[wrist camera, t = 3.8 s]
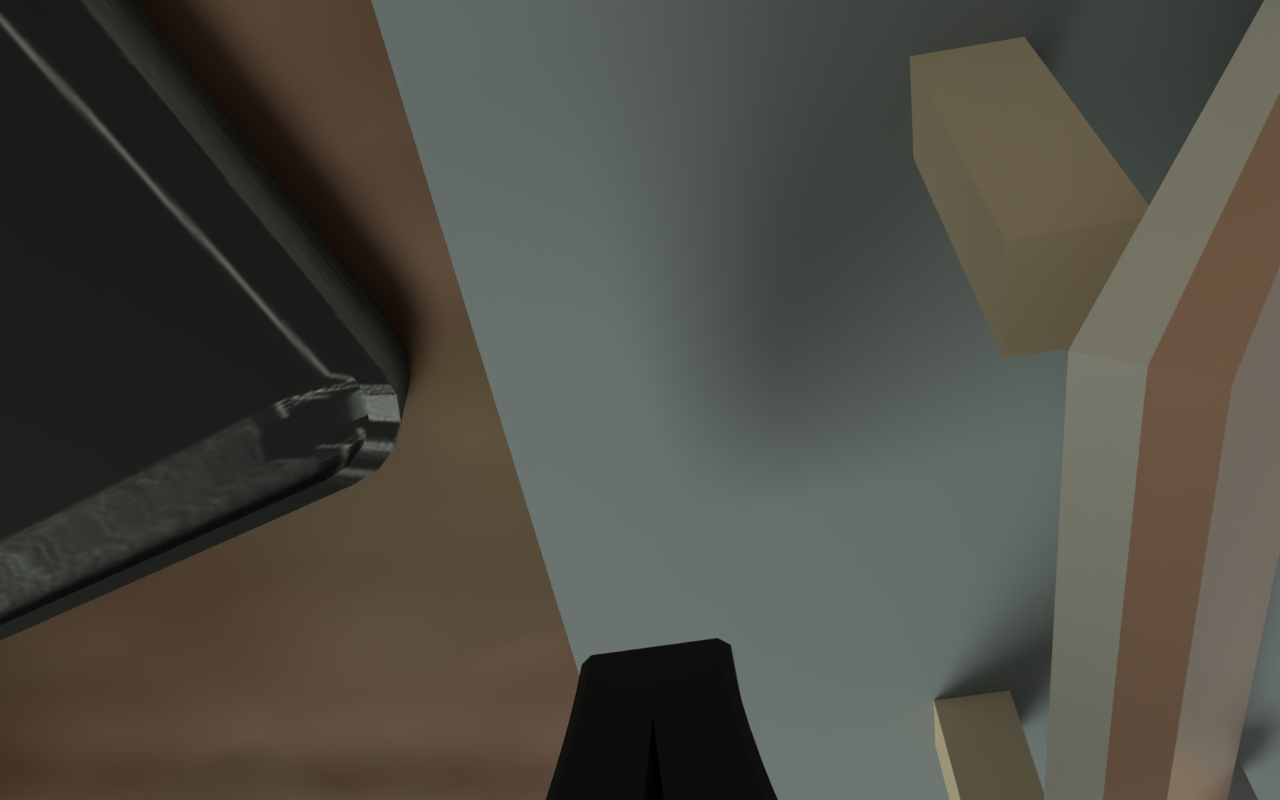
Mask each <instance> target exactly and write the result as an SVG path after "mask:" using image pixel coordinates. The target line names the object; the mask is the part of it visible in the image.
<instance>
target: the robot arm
mask: <svg viewBox="0 0 1280 800" xmlns="http://www.w3.org/2000/svg"><path fill="white" fill-rule="evenodd" d="M546 800H778V799H777V796H776V794H775V792H774V789H773V787H772V784H771V782H770V779H769V777H768V775H767V772H766V770H765V767H764V765H763V762H762V759H761V756H760V754H759V751H758V748H757V745H756V742H755V740H754V737H753V734H752V731H751V728H750V725H749V722H748V719H747V716H746V713H745V710H744V706H743V703H742V699H741V695H740V690H739V684H738V679H737V674H736V669H735V663H734V658H733V653H732V648H731V645H730V644H728V643H726V642H725V641H723V640H721V639H719V638H713V639H706V640H699V641H691V642H684V643H677V644H669V645H662V646H654V647H647V648H640V649H632V650H625V651H618V652H610V653H603V654H596V655H591V656H590V657H589V658H588V659H587V660H586V661H585V662H584V663H583V664H582V665H581V670H580V676H579V681H578V686H577V691H576V695H575V700H574V704H573V708H572V712H571V716H570V720H569V724H568V728H567V731H566V735H565V739H564V742H563V746H562V749H561V753H560V756H559V759H558V762H557V766H556V769H555V772H554V776H553V779H552V782H551V785H550V789H549V792H548V795H547V798H546Z"/></svg>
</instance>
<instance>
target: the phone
mask: <svg viewBox="0 0 1280 800" xmlns="http://www.w3.org/2000/svg"><path fill="white" fill-rule="evenodd" d="M409 381H410V377H409V370H408V364H407V357H406V352H405V350H404V349H403V347H402V345H401V343H400V341H399V340H398V338H397V336H396V334H395V333H394V331H393V329H392V327H391V326H390V324H389V323H388V322H387V321H386V319H385V318H384V317H383V316H382V314H381V313H380V312H379V311H378V309H377V308H376V307H375V305H374V304H373V303H372V302H371V300H370V299H369V298H368V297H367V295H366V294H365V293H364V292H363V290H362V289H361V288H360V287H359V285H358V284H357V283H356V281H355V280H354V279H353V278H352V276H351V275H350V274H349V273H348V271H347V270H346V269H345V268H344V266H343V265H342V264H341V263H340V261H339V260H338V259H337V257H336V256H335V255H334V254H333V252H332V251H331V250H330V249H329V247H328V246H327V245H326V244H325V242H324V241H323V240H322V239H321V237H320V236H319V235H318V233H317V232H316V231H315V230H314V228H313V227H312V226H311V225H310V223H309V222H308V221H307V220H306V218H305V217H304V216H303V215H302V213H301V212H300V211H299V209H298V208H297V207H296V206H295V204H294V203H293V202H292V201H291V199H290V198H289V197H288V196H287V194H286V193H285V192H284V191H283V189H282V188H281V187H280V185H279V184H278V183H277V182H276V180H275V179H274V178H273V177H272V175H271V174H270V173H269V172H268V170H267V169H266V168H265V167H264V165H263V164H262V163H261V161H260V160H259V159H258V158H257V156H256V155H255V154H254V153H253V151H252V150H251V149H250V148H249V146H248V145H247V144H246V143H245V141H244V140H243V139H242V137H241V136H240V135H239V134H238V132H237V131H236V130H235V129H234V127H233V126H232V125H231V124H230V122H229V121H228V120H227V119H226V117H225V116H224V115H223V113H222V112H221V111H220V110H219V108H218V107H217V106H216V105H215V103H214V102H213V101H212V100H211V98H210V97H209V96H208V94H207V93H206V92H205V91H204V89H203V88H202V87H201V86H200V84H199V83H198V82H197V81H196V79H195V78H194V77H193V76H192V74H191V73H190V72H189V70H188V69H187V68H186V67H185V65H184V64H183V63H182V62H181V60H180V59H179V58H178V57H177V55H176V54H175V53H174V52H173V50H172V49H171V48H170V46H169V45H168V44H167V43H166V41H165V40H164V39H163V38H162V36H161V35H160V34H159V33H158V31H157V30H156V29H155V28H154V26H153V25H152V24H151V22H150V21H149V20H148V19H147V17H146V16H145V15H144V14H143V12H142V11H141V10H140V9H139V7H138V6H137V5H136V4H135V2H134V1H133V0H0V640H2V639H5V638H7V637H9V636H11V635H14V634H16V633H18V632H21V631H23V630H25V629H27V628H30V627H32V626H34V625H36V624H39V623H41V622H43V621H45V620H48V619H50V618H52V617H54V616H57V615H59V614H61V613H64V612H66V611H68V610H70V609H73V608H75V607H77V606H79V605H82V604H84V603H86V602H88V601H91V600H93V599H95V598H97V597H100V596H102V595H104V594H107V593H109V592H111V591H113V590H116V589H118V588H120V587H122V586H125V585H127V584H129V583H131V582H134V581H136V580H138V579H141V578H143V577H145V576H147V575H150V574H152V573H154V572H156V571H159V570H161V569H163V568H165V567H168V566H170V565H172V564H174V563H177V562H179V561H181V560H184V559H186V558H188V557H190V556H193V555H195V554H197V553H199V552H202V551H204V550H206V549H208V548H211V547H213V546H215V545H218V544H220V543H222V542H224V541H227V540H229V539H231V538H233V537H236V536H238V535H240V534H242V533H245V532H247V531H249V530H251V529H254V528H256V527H258V526H261V525H263V524H265V523H267V522H270V521H272V520H274V519H276V518H279V517H281V516H283V515H285V514H288V513H290V512H292V511H294V510H297V509H299V508H301V507H304V506H306V505H308V504H310V503H313V502H315V501H317V500H319V499H322V498H324V497H326V496H328V495H331V494H333V493H335V492H338V491H340V490H342V489H344V488H347V487H349V486H351V485H353V484H355V483H357V482H358V481H360V480H362V479H363V478H365V477H366V476H368V475H369V474H371V473H373V472H374V471H376V470H377V469H379V467H380V466H381V465H382V463H383V462H384V461H385V460H386V458H387V457H388V456H389V454H390V453H391V452H392V450H393V449H394V448H395V444H396V440H397V436H398V432H399V428H400V424H401V419H402V415H403V410H404V405H405V400H406V396H407V391H408V386H409Z"/></svg>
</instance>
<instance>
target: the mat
mask: <svg viewBox="0 0 1280 800" xmlns="http://www.w3.org/2000/svg"><path fill="white" fill-rule="evenodd" d="M371 1H372V4H373V8H374V11H375V14H376V17H377V21H378V24H379V27H380V30H381V34H382V37H383V40H384V43H385V47H386V50H387V53H388V56H389V59H390V63H391V66H392V69H393V72H394V76H395V79H396V82H397V85H398V89H399V92H400V95H401V98H402V102H403V105H404V108H405V111H406V115H407V118H408V121H409V124H410V128H411V131H412V134H413V137H414V141H415V144H416V147H417V150H418V154H419V157H420V160H421V163H422V167H423V170H424V173H425V176H426V179H427V183H428V186H429V189H430V192H431V196H432V199H433V202H434V205H435V209H436V212H437V215H438V218H439V222H440V225H441V228H442V231H443V235H444V238H445V241H446V244H447V248H448V251H449V254H450V257H451V261H452V264H453V267H454V270H455V274H456V277H457V280H458V283H459V287H460V290H461V293H462V296H463V300H464V303H465V306H466V309H467V312H468V316H469V319H470V322H471V325H472V329H473V332H474V335H475V338H476V342H477V345H478V348H479V351H480V355H481V358H482V361H483V364H484V368H485V371H486V374H487V377H488V381H489V384H490V387H491V390H492V394H493V397H494V400H495V403H496V407H497V410H498V413H499V416H500V420H501V423H502V426H503V429H504V432H505V436H506V439H507V442H508V445H509V449H510V452H511V455H512V458H513V462H514V465H515V468H516V471H517V475H518V478H519V481H520V484H521V488H522V491H523V494H524V497H525V501H526V504H527V507H528V510H529V514H530V517H531V520H532V523H533V527H534V530H535V533H536V536H537V540H538V543H539V546H540V549H541V552H542V556H543V559H544V562H545V565H546V569H547V572H548V575H549V578H550V582H551V585H552V588H553V591H554V595H555V598H556V601H557V604H558V608H559V611H560V614H561V617H562V621H563V624H564V627H565V630H566V634H567V637H568V640H569V643H570V647H571V650H572V653H573V656H574V660H575V663H576V666H577V669H578V672H579V676H580V670H581V665H582V664H583V663H584V662H585V661H586V660H587V659H588V658H589V657H590V656H591V655H596V654H603V653H610V652H618V651H625V650H632V649H640V648H647V647H654V646H662V645H669V644H677V643H684V642H691V641H699V640H706V639H713V638H719V639H721V640H723V641H725V642H726V643H728V644H730V645H731V648H732V653H733V658H734V663H735V669H736V674H737V679H738V684H739V690H740V695H741V699H742V703H743V706H744V710H745V713H746V716H747V719H748V722H749V725H750V728H751V731H752V734H753V737H754V740H755V742H756V745H757V748H758V751H759V754H760V756H761V759H762V762H763V765H764V767H765V770H766V772H767V775H768V777H769V779H770V782H771V784H772V787H773V789H774V792H775V794H776V796H777V799H778V800H1044V795H1045V776H1046V757H1047V738H1048V720H1049V701H1050V682H1051V663H1052V645H1053V626H1054V607H1055V588H1056V569H1057V551H1058V532H1059V513H1060V494H1061V476H1062V457H1063V438H1064V419H1065V401H1066V382H1067V363H1068V350H1069V349H1070V347H1071V345H1072V343H1073V341H1074V340H1075V338H1076V336H1077V334H1078V332H1079V331H1080V329H1081V327H1082V325H1083V323H1084V322H1085V320H1086V318H1087V316H1088V315H1089V313H1090V311H1091V309H1092V307H1093V306H1094V304H1095V302H1096V300H1097V298H1098V297H1099V295H1100V293H1101V291H1102V290H1103V288H1104V286H1105V284H1106V282H1107V281H1108V279H1109V277H1110V275H1111V273H1112V272H1113V270H1114V268H1115V266H1116V264H1117V263H1118V261H1119V259H1120V257H1121V256H1122V254H1123V252H1124V250H1125V248H1126V247H1127V245H1128V243H1129V241H1130V239H1131V238H1132V236H1133V234H1134V232H1135V230H1136V229H1137V227H1138V225H1139V223H1140V222H1141V220H1142V218H1143V216H1144V214H1145V213H1146V211H1147V209H1148V207H1149V205H1150V204H1151V202H1152V200H1153V198H1154V196H1155V195H1156V193H1157V191H1158V189H1159V188H1160V186H1161V184H1162V182H1163V180H1164V179H1165V177H1166V175H1167V173H1168V171H1169V170H1170V168H1171V166H1172V164H1173V163H1174V161H1175V159H1176V157H1177V155H1178V154H1179V152H1180V150H1181V148H1182V146H1183V145H1184V143H1185V141H1186V139H1187V137H1188V136H1189V134H1190V132H1191V130H1192V129H1193V127H1194V125H1195V123H1196V121H1197V120H1198V118H1199V116H1200V114H1201V112H1202V111H1203V109H1204V107H1205V105H1206V103H1207V102H1208V100H1209V98H1210V96H1211V95H1212V93H1213V91H1214V89H1215V87H1216V86H1217V84H1218V82H1219V80H1220V78H1221V77H1222V75H1223V73H1224V71H1225V70H1226V68H1227V66H1228V64H1229V62H1230V61H1231V59H1232V57H1233V55H1234V53H1235V52H1236V50H1237V48H1238V46H1239V44H1240V43H1241V41H1242V39H1243V37H1244V36H1245V34H1246V32H1247V30H1248V28H1249V27H1250V25H1251V23H1252V21H1253V19H1254V18H1255V16H1256V14H1257V12H1258V10H1259V9H1260V7H1261V5H1262V3H1263V2H1264V0H371ZM1227 800H1280V552H1279V557H1278V561H1277V566H1276V571H1275V576H1274V581H1273V585H1272V590H1271V595H1270V600H1269V604H1268V609H1267V614H1266V619H1265V624H1264V628H1263V633H1262V638H1261V643H1260V648H1259V652H1258V657H1257V662H1256V667H1255V671H1254V676H1253V681H1252V686H1251V691H1250V695H1249V700H1248V705H1247V710H1246V715H1245V719H1244V724H1243V729H1242V734H1241V739H1240V743H1239V748H1238V753H1237V758H1236V762H1235V767H1234V772H1233V777H1232V782H1231V786H1230V791H1229V794H1228V797H1227Z"/></svg>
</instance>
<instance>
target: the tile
mask: <svg viewBox="0 0 1280 800" xmlns="http://www.w3.org/2000/svg"><path fill="white" fill-rule="evenodd" d="M1279 552H1280V0H1264V2H1263V3H1262V5H1261V7H1260V9H1259V10H1258V12H1257V14H1256V16H1255V18H1254V19H1253V21H1252V23H1251V25H1250V27H1249V28H1248V30H1247V32H1246V34H1245V36H1244V37H1243V39H1242V41H1241V43H1240V44H1239V46H1238V48H1237V50H1236V52H1235V53H1234V55H1233V57H1232V59H1231V61H1230V62H1229V64H1228V66H1227V68H1226V70H1225V71H1224V73H1223V75H1222V77H1221V78H1220V80H1219V82H1218V84H1217V86H1216V87H1215V89H1214V91H1213V93H1212V95H1211V96H1210V98H1209V100H1208V102H1207V103H1206V105H1205V107H1204V109H1203V111H1202V112H1201V114H1200V116H1199V118H1198V120H1197V121H1196V123H1195V125H1194V127H1193V129H1192V130H1191V132H1190V134H1189V136H1188V137H1187V139H1186V141H1185V143H1184V145H1183V146H1182V148H1181V150H1180V152H1179V154H1178V155H1177V157H1176V159H1175V161H1174V163H1173V164H1172V166H1171V168H1170V170H1169V171H1168V173H1167V175H1166V177H1165V179H1164V180H1163V182H1162V184H1161V186H1160V188H1159V189H1158V191H1157V193H1156V195H1155V196H1154V198H1153V200H1152V202H1151V204H1150V205H1149V207H1148V209H1147V211H1146V213H1145V214H1144V216H1143V218H1142V220H1141V222H1140V223H1139V225H1138V227H1137V229H1136V230H1135V232H1134V234H1133V236H1132V238H1131V239H1130V241H1129V243H1128V245H1127V247H1126V248H1125V250H1124V252H1123V254H1122V256H1121V257H1120V259H1119V261H1118V263H1117V264H1116V266H1115V268H1114V270H1113V272H1112V273H1111V275H1110V277H1109V279H1108V281H1107V282H1106V284H1105V286H1104V288H1103V290H1102V291H1101V293H1100V295H1099V297H1098V298H1097V300H1096V302H1095V304H1094V306H1093V307H1092V309H1091V311H1090V313H1089V315H1088V316H1087V318H1086V320H1085V322H1084V323H1083V325H1082V327H1081V329H1080V331H1079V332H1078V334H1077V336H1076V338H1075V340H1074V341H1073V343H1072V345H1071V347H1070V349H1069V350H1068V363H1067V382H1066V401H1065V419H1064V438H1063V457H1062V476H1061V494H1060V513H1059V532H1058V551H1057V569H1056V588H1055V607H1054V626H1053V645H1052V663H1051V682H1050V701H1049V720H1048V738H1047V757H1046V776H1045V795H1044V800H1227V797H1228V794H1229V791H1230V786H1231V782H1232V777H1233V772H1234V767H1235V762H1236V758H1237V753H1238V748H1239V743H1240V739H1241V734H1242V729H1243V724H1244V719H1245V715H1246V710H1247V705H1248V700H1249V695H1250V691H1251V686H1252V681H1253V676H1254V671H1255V667H1256V662H1257V657H1258V652H1259V648H1260V643H1261V638H1262V633H1263V628H1264V624H1265V619H1266V614H1267V609H1268V604H1269V600H1270V595H1271V590H1272V585H1273V581H1274V576H1275V571H1276V566H1277V561H1278V557H1279Z"/></svg>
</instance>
